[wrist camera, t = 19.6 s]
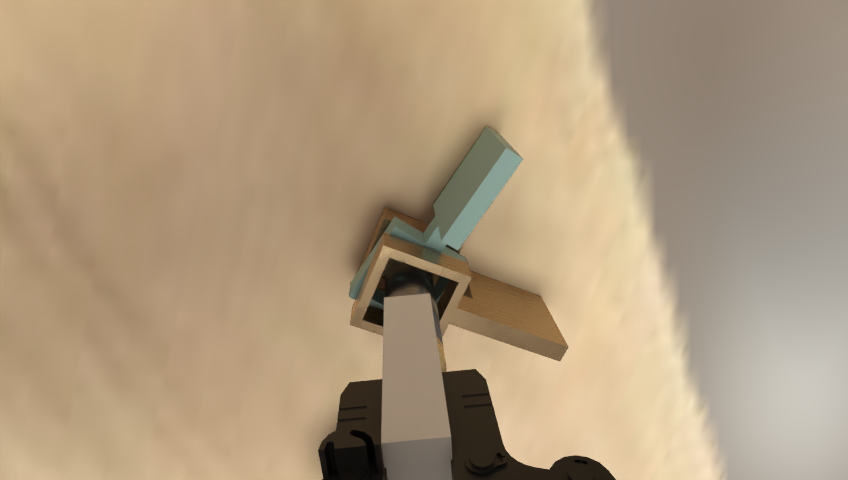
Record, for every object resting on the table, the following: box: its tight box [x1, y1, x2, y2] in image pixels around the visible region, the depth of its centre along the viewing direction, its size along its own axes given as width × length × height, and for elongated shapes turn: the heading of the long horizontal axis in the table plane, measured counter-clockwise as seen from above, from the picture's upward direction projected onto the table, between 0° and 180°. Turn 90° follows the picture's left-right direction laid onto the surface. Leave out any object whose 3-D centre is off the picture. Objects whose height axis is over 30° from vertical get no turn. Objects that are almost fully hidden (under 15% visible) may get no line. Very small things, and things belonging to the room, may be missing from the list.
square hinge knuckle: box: [350, 208, 568, 361], centre depth 38 cm, size 14×6×7 cm, turn 67°
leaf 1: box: [349, 126, 523, 310], centre depth 36 cm, size 14×6×7 cm, turn 147°
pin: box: [385, 258, 446, 372], centre depth 34 cm, size 3×3×14 cm
